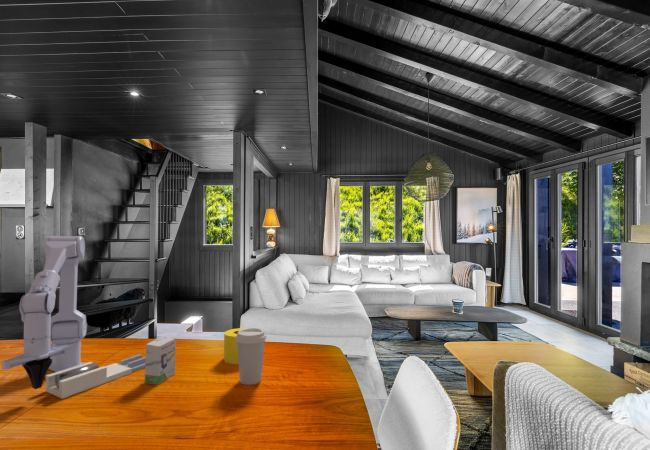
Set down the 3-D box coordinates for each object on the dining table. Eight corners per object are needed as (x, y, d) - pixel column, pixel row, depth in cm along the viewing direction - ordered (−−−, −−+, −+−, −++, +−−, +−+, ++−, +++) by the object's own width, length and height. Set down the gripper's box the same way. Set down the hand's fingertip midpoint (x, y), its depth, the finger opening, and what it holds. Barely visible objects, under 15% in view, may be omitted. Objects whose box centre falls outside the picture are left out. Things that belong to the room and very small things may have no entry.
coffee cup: (272, 377, 114) (272, 329, 114) (254, 389, 105) (254, 338, 105) (247, 371, 118) (247, 325, 118) (228, 383, 109) (228, 333, 110)
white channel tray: (45, 391, 103) (45, 375, 103) (115, 367, 121) (115, 354, 121) (62, 398, 99) (62, 382, 99) (131, 373, 117) (131, 359, 117)
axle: (61, 390, 101) (62, 377, 101) (54, 385, 103) (55, 371, 103) (98, 377, 110) (99, 365, 110) (91, 372, 112) (92, 360, 111)
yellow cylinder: (258, 357, 132) (258, 331, 132) (238, 366, 123) (238, 338, 123) (238, 351, 137) (239, 326, 137) (218, 359, 129) (218, 333, 129)
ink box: (162, 372, 117) (162, 335, 117) (176, 373, 116) (176, 337, 116) (143, 383, 109) (144, 344, 109) (159, 385, 108) (159, 345, 108)
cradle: (117, 367, 121) (117, 359, 121) (137, 360, 127) (137, 353, 127) (132, 372, 117) (132, 364, 117) (151, 364, 123) (152, 357, 123)
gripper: (10, 347, 90) (10, 402, 89) (74, 332, 102) (74, 380, 102) (-2, 342, 93) (-3, 395, 93) (61, 328, 106) (61, 375, 106)
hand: (36, 387), depth 98 cm, fingers closed
